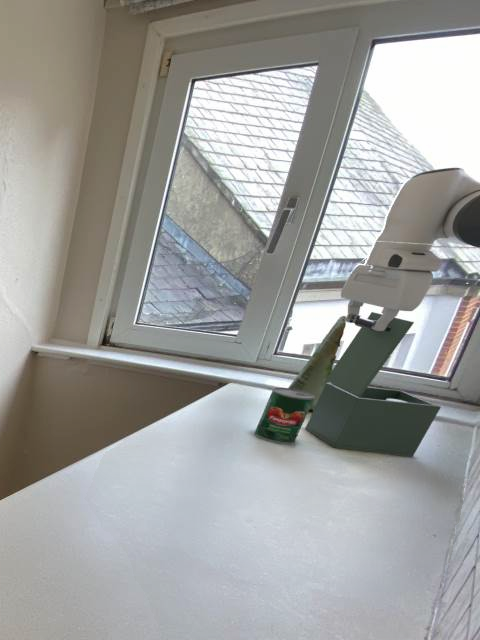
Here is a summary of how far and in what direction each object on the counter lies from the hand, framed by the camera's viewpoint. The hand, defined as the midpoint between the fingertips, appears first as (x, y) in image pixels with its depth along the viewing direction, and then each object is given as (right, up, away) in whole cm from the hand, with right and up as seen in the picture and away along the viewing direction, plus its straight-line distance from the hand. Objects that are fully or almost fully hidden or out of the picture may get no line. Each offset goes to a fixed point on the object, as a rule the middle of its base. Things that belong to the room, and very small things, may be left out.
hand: (363, 326), depth 119 cm
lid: (+3, -6, +2) cm, 7 cm away
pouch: (+15, -13, +33) cm, 39 cm away
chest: (+8, -25, +10) cm, 28 cm away
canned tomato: (-12, -24, +10) cm, 28 cm away
